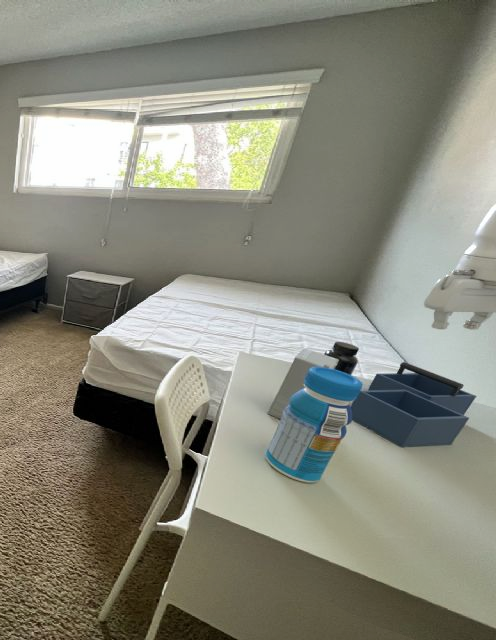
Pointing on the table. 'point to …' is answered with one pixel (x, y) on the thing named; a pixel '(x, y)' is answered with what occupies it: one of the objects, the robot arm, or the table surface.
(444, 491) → the table surface
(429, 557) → the table surface
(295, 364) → the cosmetic box
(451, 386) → the upper bin
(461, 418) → the lower bin
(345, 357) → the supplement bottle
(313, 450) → the blue vitamin bottle
